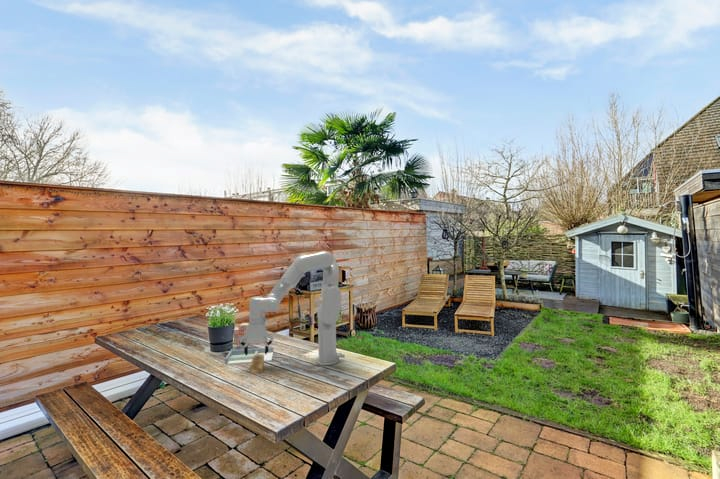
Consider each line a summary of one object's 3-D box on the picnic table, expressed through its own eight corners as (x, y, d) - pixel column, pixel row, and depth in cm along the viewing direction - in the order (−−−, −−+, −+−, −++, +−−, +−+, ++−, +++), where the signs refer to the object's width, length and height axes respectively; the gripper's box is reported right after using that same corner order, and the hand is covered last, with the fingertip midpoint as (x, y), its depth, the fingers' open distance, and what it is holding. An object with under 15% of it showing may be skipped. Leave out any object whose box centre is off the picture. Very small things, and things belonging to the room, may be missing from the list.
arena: (273, 352, 199) (273, 347, 199) (271, 361, 185) (271, 355, 185) (230, 355, 194) (230, 350, 194) (225, 364, 181) (225, 358, 181)
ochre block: (264, 365, 179) (263, 354, 179) (262, 372, 170) (261, 360, 170) (254, 366, 179) (254, 354, 178) (251, 373, 169) (251, 361, 169)
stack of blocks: (225, 344, 216) (224, 324, 216) (229, 341, 223) (229, 322, 223) (257, 344, 214) (257, 325, 214) (261, 341, 221) (260, 322, 221)
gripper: (274, 318, 179) (274, 351, 179) (240, 319, 176) (239, 352, 176) (273, 322, 172) (273, 355, 172) (238, 323, 169) (237, 357, 169)
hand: (256, 354), depth 174 cm, fingers open, 9 cm apart
